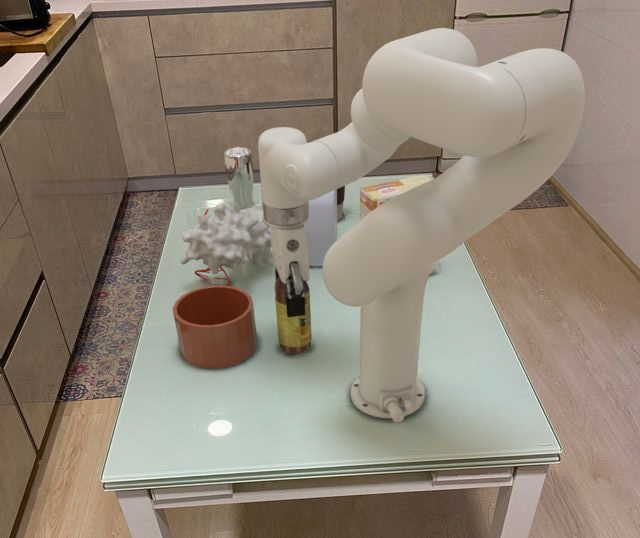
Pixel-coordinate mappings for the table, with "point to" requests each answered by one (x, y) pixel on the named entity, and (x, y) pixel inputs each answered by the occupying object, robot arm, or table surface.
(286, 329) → the sauce bottle
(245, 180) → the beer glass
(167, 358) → the table surface
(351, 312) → the table surface
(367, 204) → the coffeecake box
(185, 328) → the crock
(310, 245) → the soap bottle
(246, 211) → the lumpy white molecule
